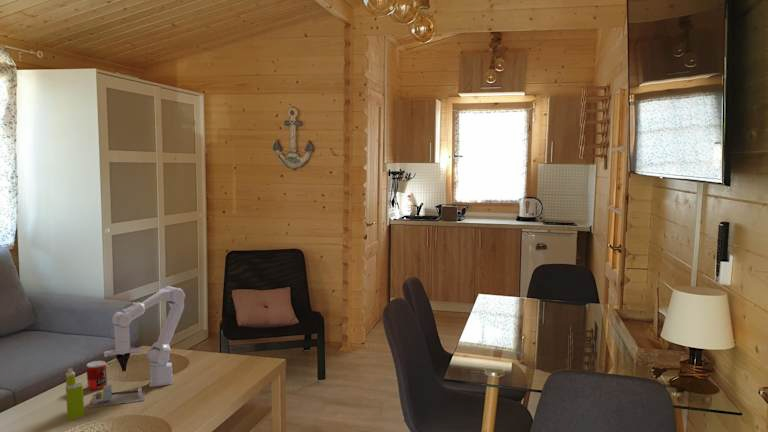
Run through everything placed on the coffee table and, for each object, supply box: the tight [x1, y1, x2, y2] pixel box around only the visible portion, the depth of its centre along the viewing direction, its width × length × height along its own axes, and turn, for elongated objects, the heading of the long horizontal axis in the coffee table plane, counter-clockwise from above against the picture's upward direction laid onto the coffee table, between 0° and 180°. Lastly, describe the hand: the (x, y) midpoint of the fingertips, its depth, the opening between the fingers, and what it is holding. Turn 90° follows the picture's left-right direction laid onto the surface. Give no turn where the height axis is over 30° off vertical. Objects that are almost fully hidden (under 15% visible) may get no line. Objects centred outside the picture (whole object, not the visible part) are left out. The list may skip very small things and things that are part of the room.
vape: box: [65, 367, 85, 421], centre depth 226 cm, size 4×6×20 cm, turn 139°
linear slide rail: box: [88, 387, 146, 409], centre depth 243 cm, size 21×10×4 cm, turn 109°
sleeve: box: [102, 384, 113, 400], centre depth 242 cm, size 3×3×5 cm
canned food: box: [86, 360, 108, 391], centre depth 257 cm, size 8×8×11 cm
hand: (124, 370), depth 249 cm, fingers closed
